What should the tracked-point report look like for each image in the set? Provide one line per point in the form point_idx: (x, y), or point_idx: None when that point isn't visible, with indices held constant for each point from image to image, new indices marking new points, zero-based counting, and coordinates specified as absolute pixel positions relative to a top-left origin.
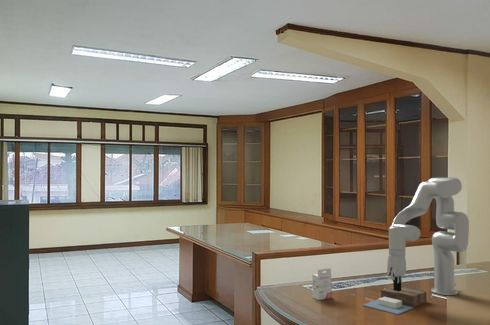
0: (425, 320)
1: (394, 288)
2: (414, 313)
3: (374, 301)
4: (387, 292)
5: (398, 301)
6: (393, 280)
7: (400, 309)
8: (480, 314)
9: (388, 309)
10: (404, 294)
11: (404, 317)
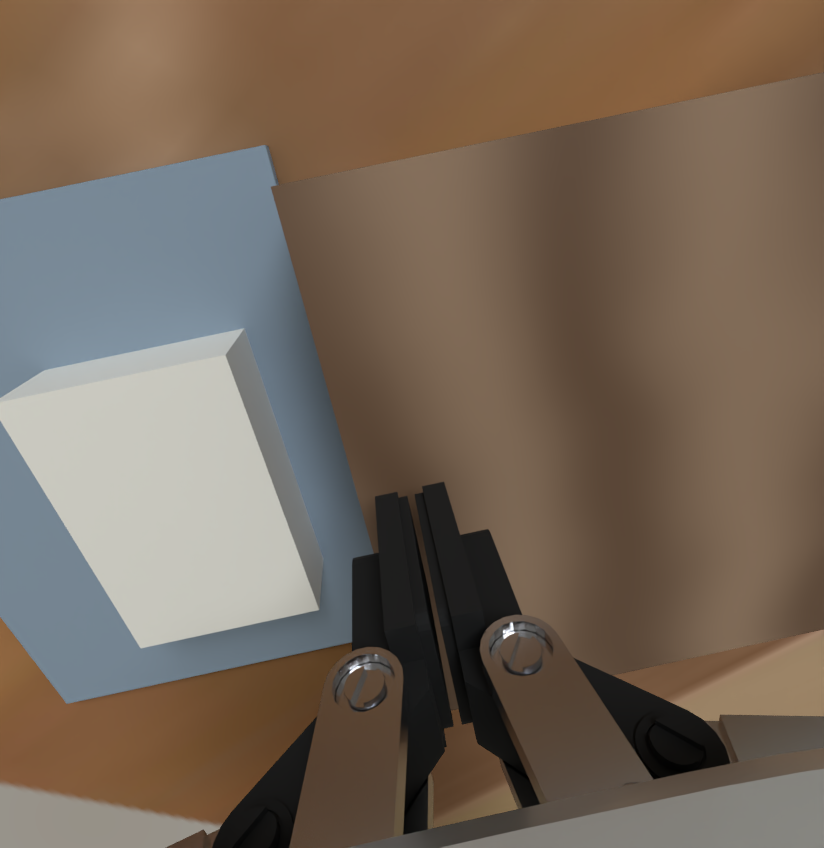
0: (215, 824)
1: (352, 564)
2: (274, 710)
3: (86, 220)
4: (321, 354)
5: (238, 619)
6: (280, 776)
7: None
8: None
9: (53, 585)
10: (433, 615)
11: (90, 747)
